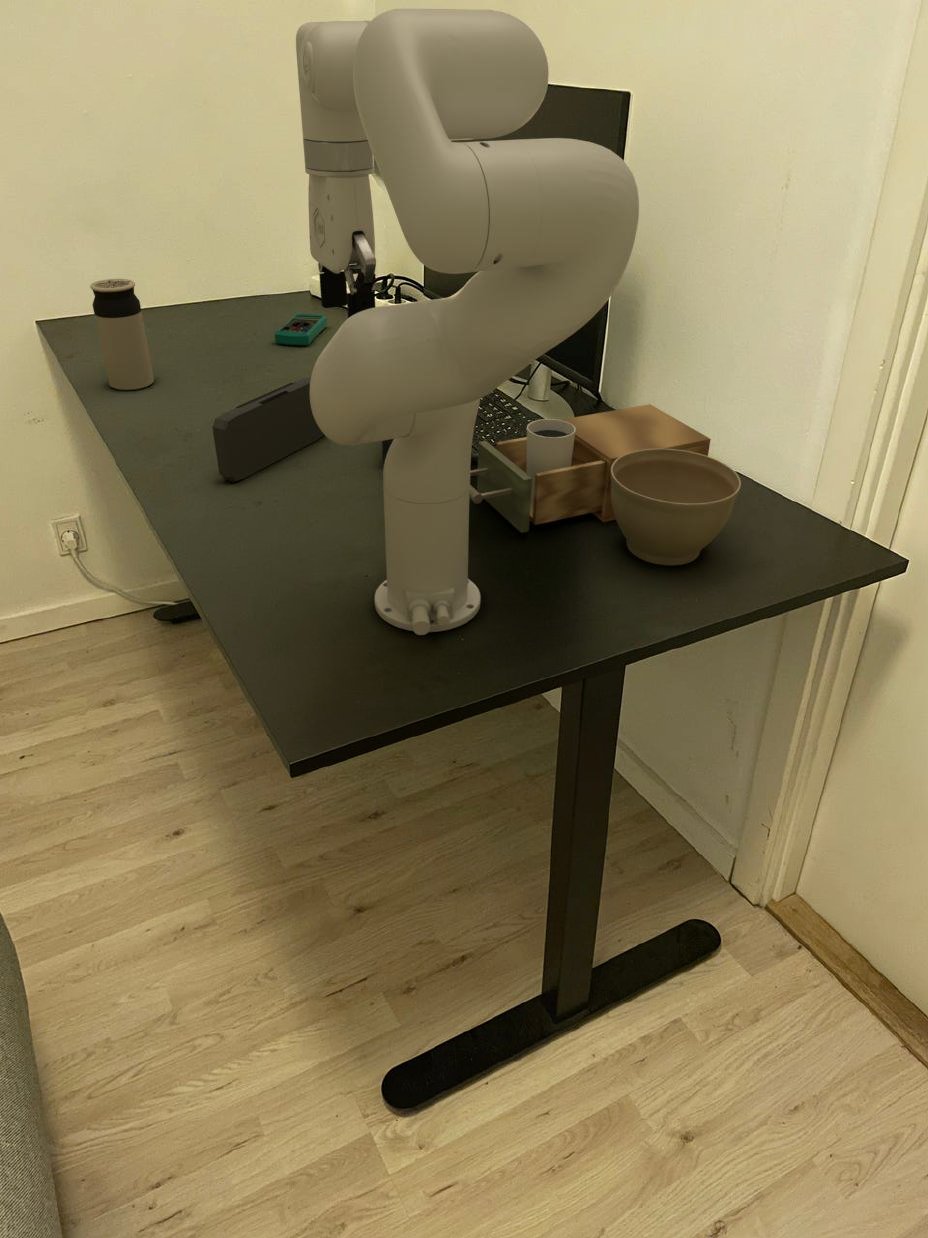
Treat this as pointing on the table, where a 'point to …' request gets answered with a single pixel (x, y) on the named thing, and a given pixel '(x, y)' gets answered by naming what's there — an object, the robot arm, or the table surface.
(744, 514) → the table surface
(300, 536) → the table surface
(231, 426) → the handheld gaming console
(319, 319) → the digital multimeter
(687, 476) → the planter bowl
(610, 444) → the cabinet
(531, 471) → the white coffee cup
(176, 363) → the table surface
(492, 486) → the drawer
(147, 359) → the travel mug
